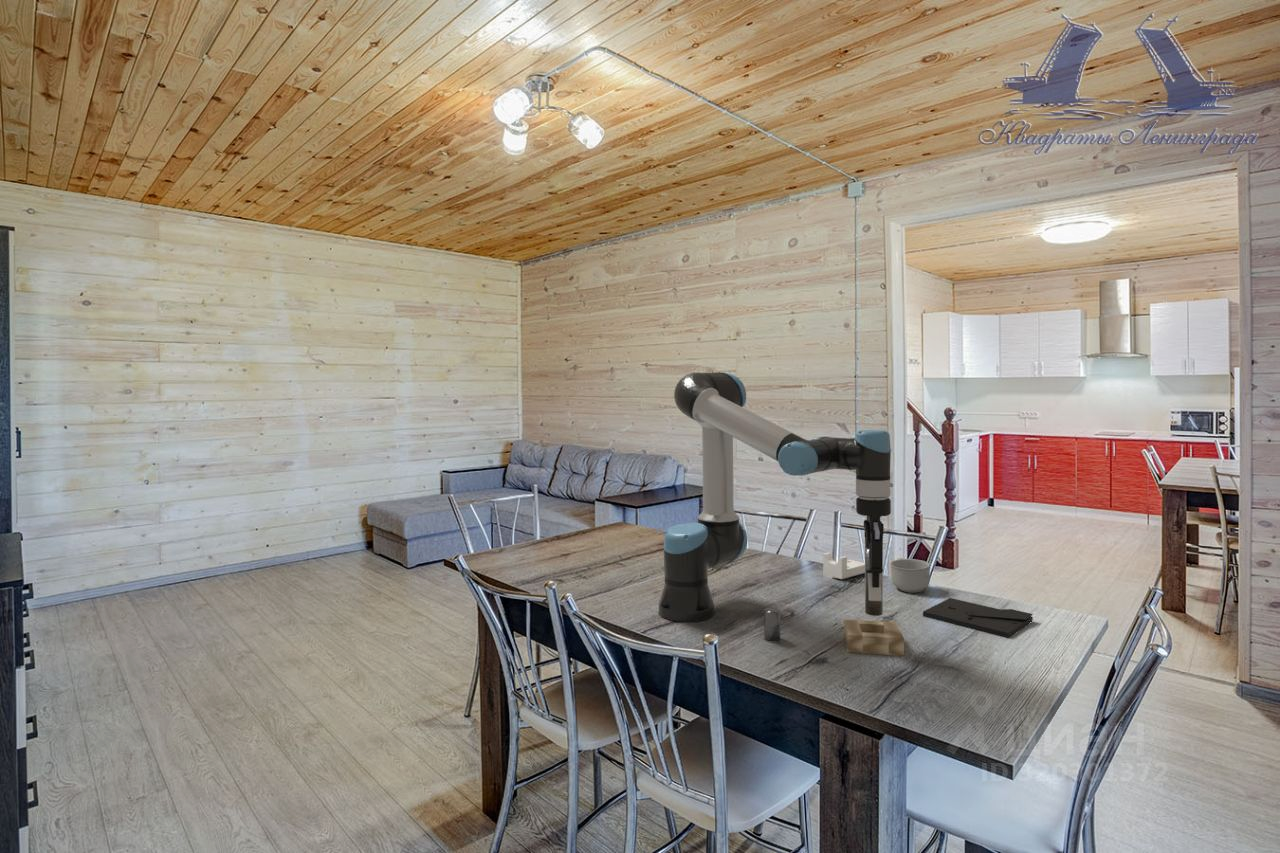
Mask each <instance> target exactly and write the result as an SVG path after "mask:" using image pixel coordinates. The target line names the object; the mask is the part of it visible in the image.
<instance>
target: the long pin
mask: <svg viewBox="0 0 1280 853" xmlns="http://www.w3.org/2000/svg"><path fill="white" fill-rule="evenodd" d="M864 563H865V573H864V593H865V594H864V600H865V602H864V603H865V606H864V607H865V609H864V610H865V614H866V615H869V616H873V617H879V616H880V617H881V616H882V615H883V614H884V612H883V610H884V609H883V607H884V606H883V604H884V603H883V597H884V595H883V592H884V591H883V585H884V584H883V579H884V578H883V573H881V594H882V601H869V573H866V570H869V569H870V566H869V547H868V548H865V547H864Z"/></svg>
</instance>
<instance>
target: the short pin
mask: <svg viewBox="0 0 1280 853" xmlns="http://www.w3.org/2000/svg"><path fill="white" fill-rule="evenodd" d="M763 639H764V641H766V640H767V641H766V642H769V641H778V642H779V640H780V641H781V610H780V609H779V608H777V607H766V608H764V609H763Z"/></svg>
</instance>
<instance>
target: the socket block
mask: <svg viewBox="0 0 1280 853" xmlns="http://www.w3.org/2000/svg"><path fill="white" fill-rule="evenodd" d="M843 636H844V641H845V647H846V651H847V652H848V653H856V654H857V653H858V654H861V653H862V654H871V655H872V654H875V655H886V656H887V655H888V656H905V654H904V652H905V645H904V644H905V637H904V636H903V633H902V631H901V630H900V628H899V625H898V623H897V622H893V621H877V620H876V621H875V620H861V619H860V620H859V619H843Z"/></svg>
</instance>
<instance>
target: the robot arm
mask: <svg viewBox="0 0 1280 853" xmlns="http://www.w3.org/2000/svg"><path fill="white" fill-rule="evenodd" d="M673 392H674V393H673V395H674V402H675V405H676V407H677V408H678V410H679V411H680V412H681V413H682V414H683V415H685V416H686V417H688V418H690V419H691V420H694V421H695V422H697V423H698V425H700V426H701V434H702V436H701V438H702V439H701V441H702V442H701V445H702V448H701V450H702V511H701V513H700V514H699V515H698V516H697V522H686V523H678V524H674V525H673V526H670V527H669V528H667V529H666V530H665V533H664V536H663V537H664V538H663V541H664V542H663V544H662V545H663V560H664V563H663V564H664V584H663V589H662V592H661V595H660V599H659V601H658V614H659V616H660V617H662V618H664V619H667V620H671V621H675V622H682V623H683V622H684V623H685V622H688V623H690V622H692V623H693V622H698V621H699V622H700V621H703V620H707V619H710V618H711V617H714V615H715V612H716V611H715V608H716V607H715V606H716V605H715V602H714V598H713V596H712V593H711V592H712V591H711V590H710V587H709V581H708V580H709V576H708V575H709V572H708V570H709V569H712V568H715V567H719V566H722V565H726V564H730V563H732V562H734V561H736V560H738V559H739V558H741V557H742V556H743V554H744V553H745V551H746V550H747V546H748V534H747V531H746V529H745V528H744V525H743V524H742V523H741V522H740V516H739V515H738V514H737V513H736V512H735V511H734V510H735V508H734V504H735V503H734V439H737V441H740V442H742V443H743V444H745V445H747V446H748V447H751V448H753V449H754V450H757V451H758V452H760V453H762V454H764V455H766V456H767V457H769V458H770V459H773V460H774V461H777V462H778V464H779V466H780V468H781V469H782V471H783V473H785V474H787V475H789V476H795V477H796V476H798V477H799V476H802V477H803V476H806V475H807V476H808V475H810V474H816V473H820V472H825V471H831V470H845V471H846V470H847V471H849V470H850V471H855V495H856V496H857V498H855V503H856V504H855V505H856V506H855V508H856V509H855V510H856V513H857V515H860V516H863V517H866V519H864V520H863V529H864V549H865V548H868V547H869V566H870V569H869V570H866V573H869V601H882V594H881V573H882V574H883V572H884V568H883V564H884V562H883V561H884V560H883V559H884V553H883V552H884V551H883V550H884V548H883V547H884V534H885V532H884V529H885V528H884V523H883V521H881V518H882V517H887V516H890V515H891V512H892V507H891V506H892V504H891V503H892V500H891V499H890V498H889V497H890V496H891V488H893V487H894V483H893V482H891V457H892V456H891V455H892V454H891V452H892V448H891V438H890V433H889V431H886V430H881V429H861V430H857V431H856V433H855V437H854V438H849V437H847V438H845V437H831V436H821V437H820V436H817V437H813V438H811V439H810V440H809V439H805V438H803V437H802V436H800V435H797V434H795V433H794V432H792V431H790V430H788V429H786V428H784V427H782V426H780V425H778V424H776V423H773V422H772V421H770V420H768V419H766V418H764V417H763V416H760V415H758V414H757V413H754V412H752V411H751V410H748V409H747V408H745V407H744V406H745V405H746V401H747V391H746V387H745V385H744V383H743V381H742V380H741V379H740V378H739V377H738V376H736V375H735V374H732V373H728V372H722V371H721V372H720V371H718V372H691V373H688V374H686V375H684V376H683V377H682V378H680V379H679V381H678V382H677V384H676V385H675V388H674V391H673Z"/></svg>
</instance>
